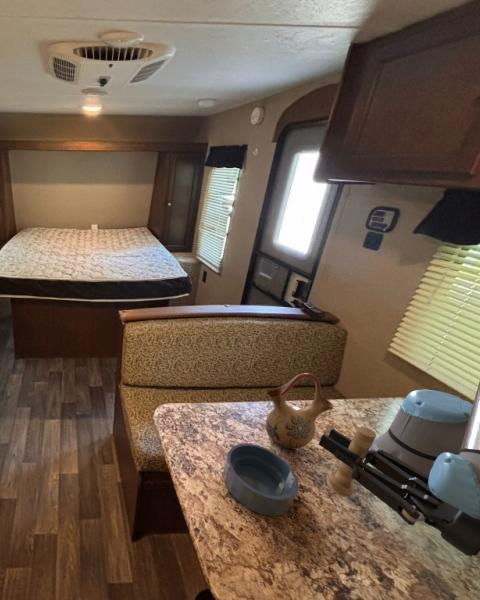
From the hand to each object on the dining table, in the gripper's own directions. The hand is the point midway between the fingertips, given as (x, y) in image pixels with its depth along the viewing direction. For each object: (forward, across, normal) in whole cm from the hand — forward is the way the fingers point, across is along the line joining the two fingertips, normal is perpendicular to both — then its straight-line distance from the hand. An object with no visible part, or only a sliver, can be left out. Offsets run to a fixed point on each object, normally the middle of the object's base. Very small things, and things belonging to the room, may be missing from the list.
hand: (325, 436), depth 69 cm
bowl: (+7, -6, -21) cm, 23 cm away
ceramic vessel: (+12, +14, -21) cm, 29 cm away
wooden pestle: (-5, 0, -10) cm, 11 cm away
